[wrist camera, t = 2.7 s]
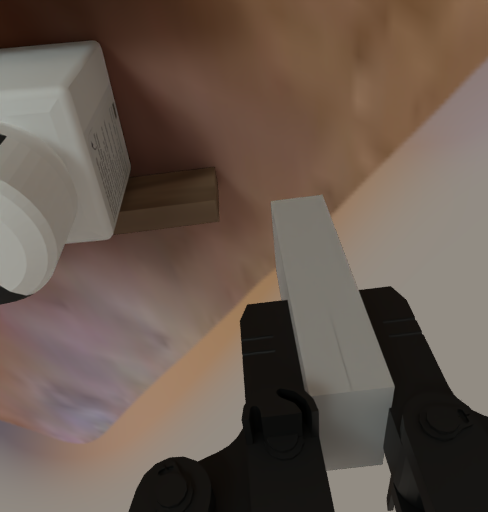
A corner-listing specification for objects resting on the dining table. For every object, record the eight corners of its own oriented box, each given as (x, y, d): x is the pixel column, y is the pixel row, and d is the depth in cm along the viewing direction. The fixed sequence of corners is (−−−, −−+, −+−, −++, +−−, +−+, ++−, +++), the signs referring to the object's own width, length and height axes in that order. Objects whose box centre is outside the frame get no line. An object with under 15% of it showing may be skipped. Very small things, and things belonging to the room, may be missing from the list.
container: (11, 180, 29) (-95, 337, 19) (-46, 51, 24) (-230, 167, 14) (133, 169, 29) (93, 319, 19) (100, 37, 24) (23, 144, 14)
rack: (-140, -30, 22) (-198, -17, 19) (175, -74, 21) (169, -67, 18) (-7, 215, 30) (-31, 252, 27) (218, 187, 30) (219, 221, 27)
